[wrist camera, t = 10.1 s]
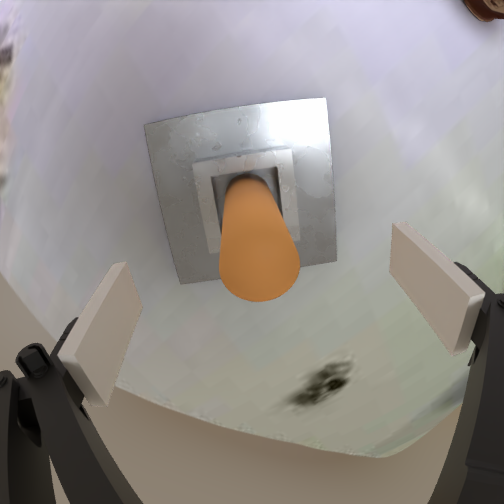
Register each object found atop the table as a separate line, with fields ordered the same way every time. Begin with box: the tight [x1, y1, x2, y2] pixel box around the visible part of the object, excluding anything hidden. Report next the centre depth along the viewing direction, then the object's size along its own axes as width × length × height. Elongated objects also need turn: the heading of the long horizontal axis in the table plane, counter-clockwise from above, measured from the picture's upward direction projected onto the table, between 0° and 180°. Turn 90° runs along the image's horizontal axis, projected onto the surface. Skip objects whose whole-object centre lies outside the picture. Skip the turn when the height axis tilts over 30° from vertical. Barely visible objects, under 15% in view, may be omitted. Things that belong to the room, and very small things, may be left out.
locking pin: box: [219, 173, 300, 302], centre depth 22 cm, size 4×4×14 cm
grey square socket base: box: [144, 98, 337, 284], centre depth 28 cm, size 16×16×4 cm
